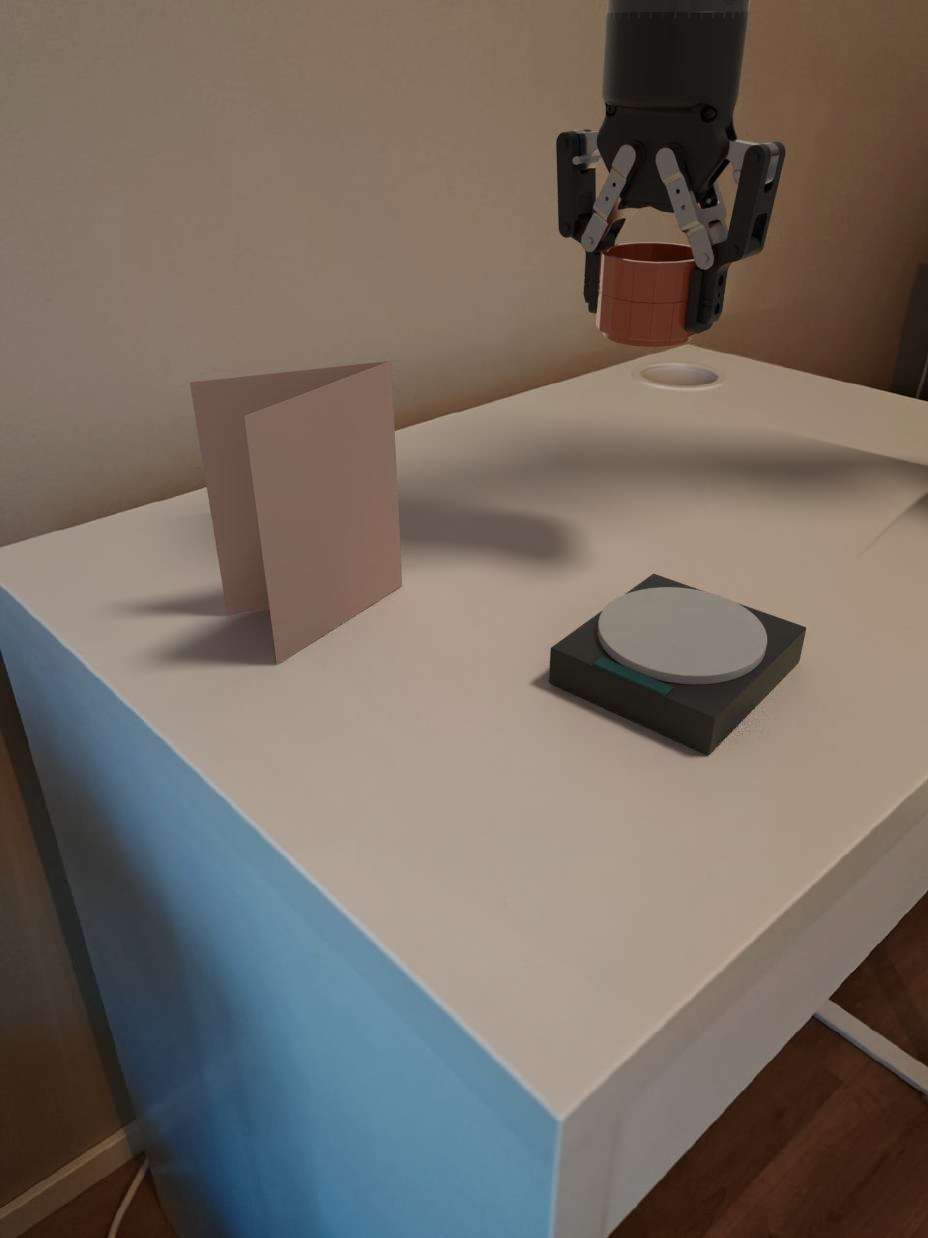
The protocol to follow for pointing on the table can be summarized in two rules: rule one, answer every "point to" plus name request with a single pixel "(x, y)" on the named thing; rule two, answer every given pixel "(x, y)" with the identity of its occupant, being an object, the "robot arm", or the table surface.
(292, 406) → the greeting card
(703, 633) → the scale
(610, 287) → the orange cup
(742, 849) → the table surface
